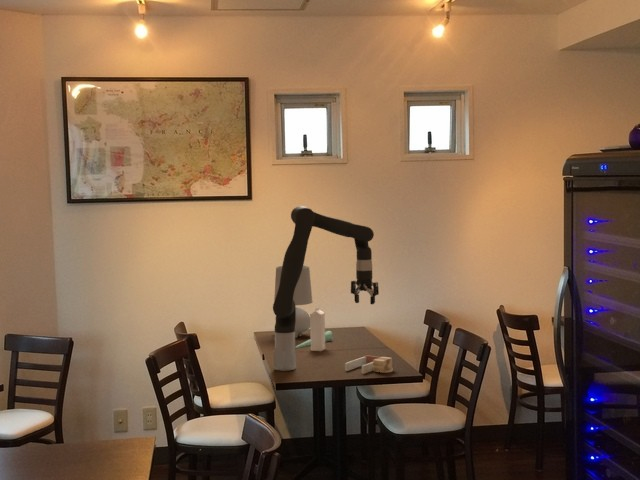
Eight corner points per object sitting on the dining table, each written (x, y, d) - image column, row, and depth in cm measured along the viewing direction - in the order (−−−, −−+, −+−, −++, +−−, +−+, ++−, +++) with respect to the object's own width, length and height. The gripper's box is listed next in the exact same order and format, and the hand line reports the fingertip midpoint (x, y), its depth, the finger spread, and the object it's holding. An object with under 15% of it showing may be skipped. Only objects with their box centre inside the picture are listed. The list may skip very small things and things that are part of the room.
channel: (363, 373, 310) (363, 364, 310) (345, 370, 316) (344, 362, 316) (384, 366, 324) (384, 357, 323) (366, 363, 330) (365, 354, 329)
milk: (310, 350, 359) (309, 308, 358) (314, 348, 365) (313, 306, 363) (322, 351, 357) (320, 308, 356) (325, 348, 363) (324, 306, 361)
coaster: (387, 373, 310) (387, 372, 310) (371, 371, 314) (371, 369, 314) (396, 370, 316) (396, 368, 316) (381, 367, 321) (381, 366, 321)
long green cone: (291, 338, 367) (325, 330, 386) (291, 348, 367) (325, 340, 387) (298, 339, 363) (333, 331, 383) (299, 349, 363) (333, 341, 383)
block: (383, 372, 309) (382, 361, 309) (373, 371, 312) (373, 360, 312) (392, 368, 316) (392, 357, 316) (382, 367, 319) (382, 356, 319)
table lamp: (265, 337, 396) (263, 266, 393) (288, 330, 414) (287, 263, 411) (298, 341, 383) (296, 268, 380) (320, 334, 400) (319, 264, 398)
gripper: (381, 269, 327) (381, 303, 328) (356, 267, 336) (356, 301, 337) (372, 270, 321) (373, 305, 322) (347, 269, 330) (347, 303, 331)
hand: (364, 303), depth 329 cm, fingers open, 8 cm apart
